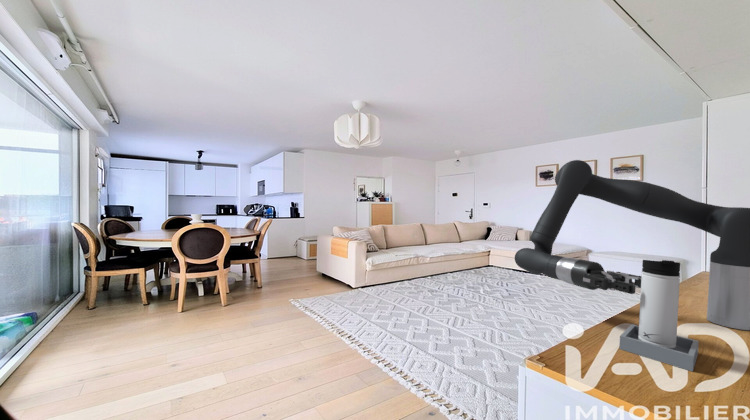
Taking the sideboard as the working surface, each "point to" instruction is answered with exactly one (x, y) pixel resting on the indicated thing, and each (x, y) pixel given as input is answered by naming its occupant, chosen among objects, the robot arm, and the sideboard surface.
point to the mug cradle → (661, 349)
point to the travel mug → (659, 303)
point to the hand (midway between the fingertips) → (646, 288)
